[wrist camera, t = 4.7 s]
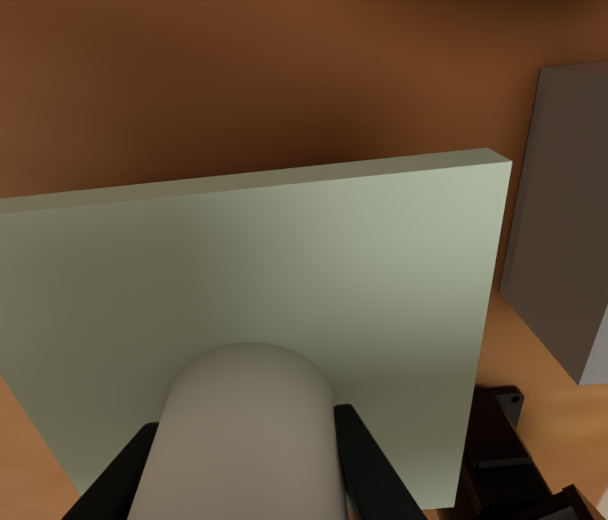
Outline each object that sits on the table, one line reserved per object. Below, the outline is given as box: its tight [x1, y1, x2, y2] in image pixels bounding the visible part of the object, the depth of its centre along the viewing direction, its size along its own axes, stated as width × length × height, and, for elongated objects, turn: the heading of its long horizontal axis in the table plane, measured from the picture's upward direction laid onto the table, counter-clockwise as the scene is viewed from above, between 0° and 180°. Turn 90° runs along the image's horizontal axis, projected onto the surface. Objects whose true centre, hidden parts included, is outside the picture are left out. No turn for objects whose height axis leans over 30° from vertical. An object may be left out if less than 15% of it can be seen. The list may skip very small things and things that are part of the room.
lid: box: [0, 148, 512, 520], centre depth 8 cm, size 11×11×5 cm
